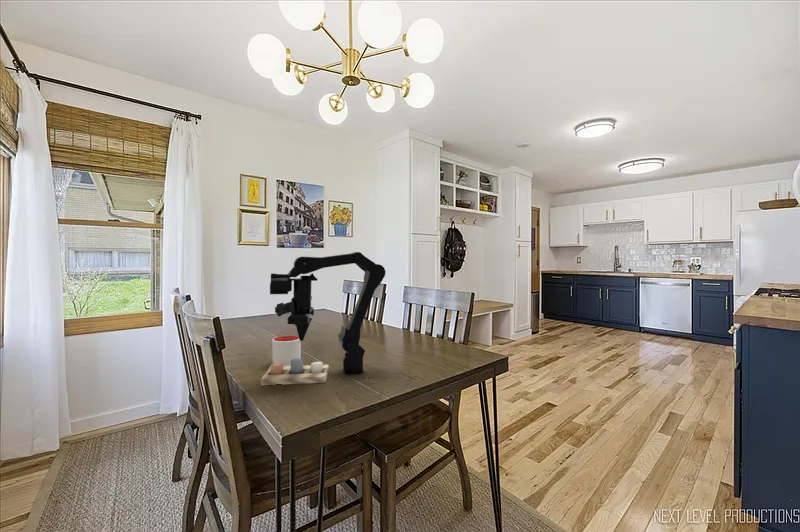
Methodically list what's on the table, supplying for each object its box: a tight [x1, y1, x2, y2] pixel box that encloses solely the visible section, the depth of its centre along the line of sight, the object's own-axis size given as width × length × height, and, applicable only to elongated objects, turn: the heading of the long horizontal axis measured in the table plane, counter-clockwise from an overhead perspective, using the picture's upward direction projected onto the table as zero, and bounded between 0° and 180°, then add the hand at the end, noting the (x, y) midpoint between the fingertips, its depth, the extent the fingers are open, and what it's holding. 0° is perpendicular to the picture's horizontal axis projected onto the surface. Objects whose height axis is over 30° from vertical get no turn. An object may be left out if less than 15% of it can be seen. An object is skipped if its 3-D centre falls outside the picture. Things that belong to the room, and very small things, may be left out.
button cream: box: [310, 361, 324, 373], centre depth 116 cm, size 4×4×4 cm
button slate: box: [291, 358, 304, 374], centre depth 115 cm, size 4×4×4 cm
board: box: [260, 364, 330, 386], centre depth 115 cm, size 20×12×2 cm, turn 97°
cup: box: [271, 335, 302, 366], centre depth 128 cm, size 10×10×10 cm
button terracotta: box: [269, 363, 283, 375], centre depth 114 cm, size 4×4×4 cm
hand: (301, 340), depth 115 cm, fingers closed
